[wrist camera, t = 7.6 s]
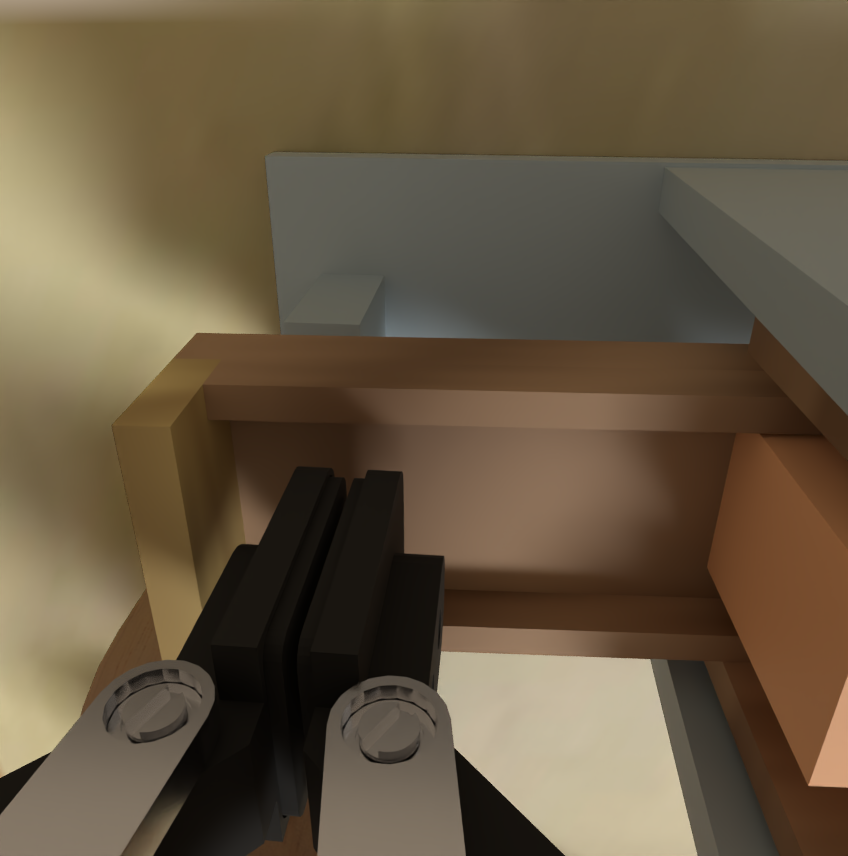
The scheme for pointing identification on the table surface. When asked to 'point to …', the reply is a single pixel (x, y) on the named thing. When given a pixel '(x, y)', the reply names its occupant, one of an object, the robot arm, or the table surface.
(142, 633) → the wooden toy
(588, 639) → the beam
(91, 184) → the table surface
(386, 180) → the stand
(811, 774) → the block
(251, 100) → the table surface
